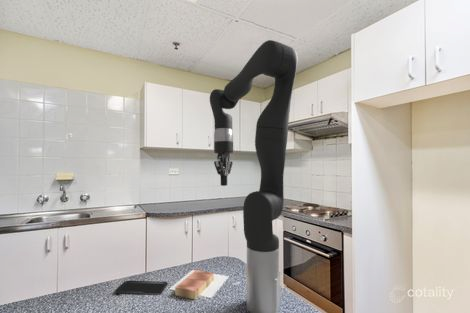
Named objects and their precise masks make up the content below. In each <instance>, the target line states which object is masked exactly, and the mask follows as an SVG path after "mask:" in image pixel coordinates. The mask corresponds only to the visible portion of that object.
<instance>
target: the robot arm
mask: <svg viewBox="0 0 470 313" xmlns="http://www.w3.org/2000/svg"><path fill="white" fill-rule="evenodd" d="M297 69H298V53H297V51H296V49H294V48H293V47H292V46H290V45H286V44H285V43H281V42H279V41H276V40H272V39H269V40H266V41H264V42H263V43H262V44H260V46H258V48H257V49H256V51H255V52H253V54H252V55H251V57H250V58H249V59H248V61H247V62H246V64H245V65H244V66H243V68H242V69H241V71H240V72H238V74H237V75H236V76H235V77H234V78H233V79H231V80H230V81H229V82H228V83H227V84H226V85H225V87H224V88H223V89H216V88H215V89H213V90H212V91H211V92H210V94H209V104H210V108H211V112H212V115H213V119H214V122H213V123H214V127H213V128H214V132H213V133H214V134H213V152H214V154H217V155H216V160H215V161H213V164H214V167H215V170H216V172H217V175H219V176H220V186H222V187H225V186H228V176H229V175H230V174H231V170H232V166H233V161H231V156H230V154H233V153H234V132H233V117H232V115H231V114H228V113H226V112H225V111H224V109H225V110H231V109H234V108H235V107H236V106H237V104H238V103H239V101H240V100H241V99H243V98H244V97H245V96H247V95H248V94H249V93H250V92H251V90H252V88H253V86H254V79H255V78H256V77H258V76H260V75H264V76H266V77H270V78H274V88H273V92H272V96H271V99H270V100H269V101H268V103H267V105H266V106H265V107H264V109H263V110H262V112H261V113H260V115H259V116H258V118H257V121H256V125H255V127H256V128H255V137H254V146H255V153H256V156H257V159H258V164H259V168H260V184H259V190H257V191H253V192H249V194H247V196H246V197H245V199H244V201H243V207H242V214H243V215H242V217H243V235H244V238H245V240H246V293H245V294H246V299H245V300H246V304H245V306H246V309H247V310H248V312H249V313H279V310H280V307H281V271H280V239H279V236H277V235H276V234H275V233H274V229H273V221H275V220H277V219H278V218H279V217H280V216H281V215H282V213H283V211H284V210H283V209H284V205H285V204H284V200H285V198H284V175H285V174H284V173H285V166H286V165H285V162H286V155H287V154H286V153H287V144H288V133H289V123H290V122H289V121H290V112H291V102H292V98H293V97H292V94H293V90H294V85H295V81H296V80H295V79H296V74H297V71H298V70H297Z"/></svg>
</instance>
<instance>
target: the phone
mask: <svg viewBox="0 0 470 313" xmlns="http://www.w3.org/2000/svg"><path fill="white" fill-rule="evenodd" d="M168 284H169V282H167V281H155V280H154V281H152V280H151V281H150V280H149V281H148V280H146V281H145V280H125V281H124V282H122V283H121V284H120V285H119V286H118V287H117V288H116V289H114V295H115V296H121V295H138V296H139V295H142V296H143V295H144V296H145V295H147V296H160V295H162V294H163V292H164V291H165V289H166V288H167V286H168Z"/></svg>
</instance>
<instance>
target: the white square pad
mask: <svg viewBox="0 0 470 313" xmlns="http://www.w3.org/2000/svg"><path fill="white" fill-rule="evenodd" d="M194 271H195V269H192V270H190V271H189V272H188V273H186V274H185V275H184V276H183V277H181V279H179V280H178V281H177V282H176V283H175V284H173V285H171V287H170V288H169V290H172V291H175V287H176V286H178V285H179V284H180V283H181V282H182V281H183V280H185V279H186V278H187V277H188V276H189V275H191V274H192V273H193V272H194ZM228 278H230V276H229V275H223V274H217V273H214V280H213V281H212V282H211V284H210V285H209V286H208V287H207V288H206V289H205V290H204V291H203V292H202V293H201V294H200V295H199V296H198V297H204V298H208V299H209V298H210V299H212V298H213V297H214V296H215V295H216V293H217V292H218V290H219V289H220V288H221V287H222V285H224V283H225V282H226V281H227V280H228Z"/></svg>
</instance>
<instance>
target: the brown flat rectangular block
mask: <svg viewBox="0 0 470 313" xmlns="http://www.w3.org/2000/svg"><path fill="white" fill-rule="evenodd" d="M194 270H195V269H194ZM214 274H215V273H214V272H210V271H203V270H199V269H198V270H197V269H196V270H195V271H194V272H193V273H192V274H191V275H189V276H188V277H187V278H186V279H185V280H183V281H182V282H181V283H180V284H179V285H178V286H176V287H175V290H174V291H175V292H174V293H175V294H174V295H175V296H177V297H181V298H185V299H186V298H187V299H191V300H195V301H196V300H197V298H199V297H200V296H199V295H200V294H201V293H202V292H203V291H204V290H205V289H206V288H207V287H208V286H209V285H210V284H211V282H212V281H213V280H214Z"/></svg>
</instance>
